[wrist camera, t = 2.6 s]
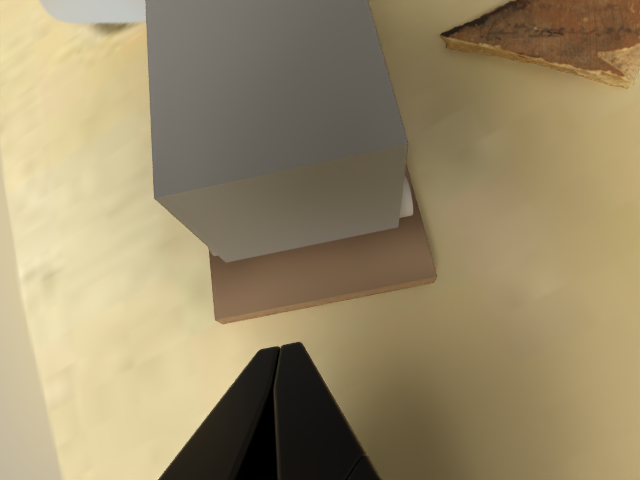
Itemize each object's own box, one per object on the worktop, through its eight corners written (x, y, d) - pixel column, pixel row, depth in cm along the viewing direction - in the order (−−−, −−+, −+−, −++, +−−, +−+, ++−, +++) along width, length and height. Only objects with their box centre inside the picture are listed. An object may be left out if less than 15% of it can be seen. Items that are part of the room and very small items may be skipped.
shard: (436, 53, 28) (440, 30, 26) (476, -35, 30) (482, -61, 28) (623, 101, 25) (640, 80, 23) (653, 1, 27) (671, -26, 25)
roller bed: (434, 282, 22) (463, 221, 15) (222, 324, 23) (146, 286, 15) (352, -18, 30) (343, -162, 22) (194, 20, 30) (132, -108, 23)
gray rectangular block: (398, 227, 20) (408, 143, 13) (225, 262, 20) (154, 198, 14) (354, 54, 24) (345, -79, 17) (207, 87, 24) (144, -30, 17)
